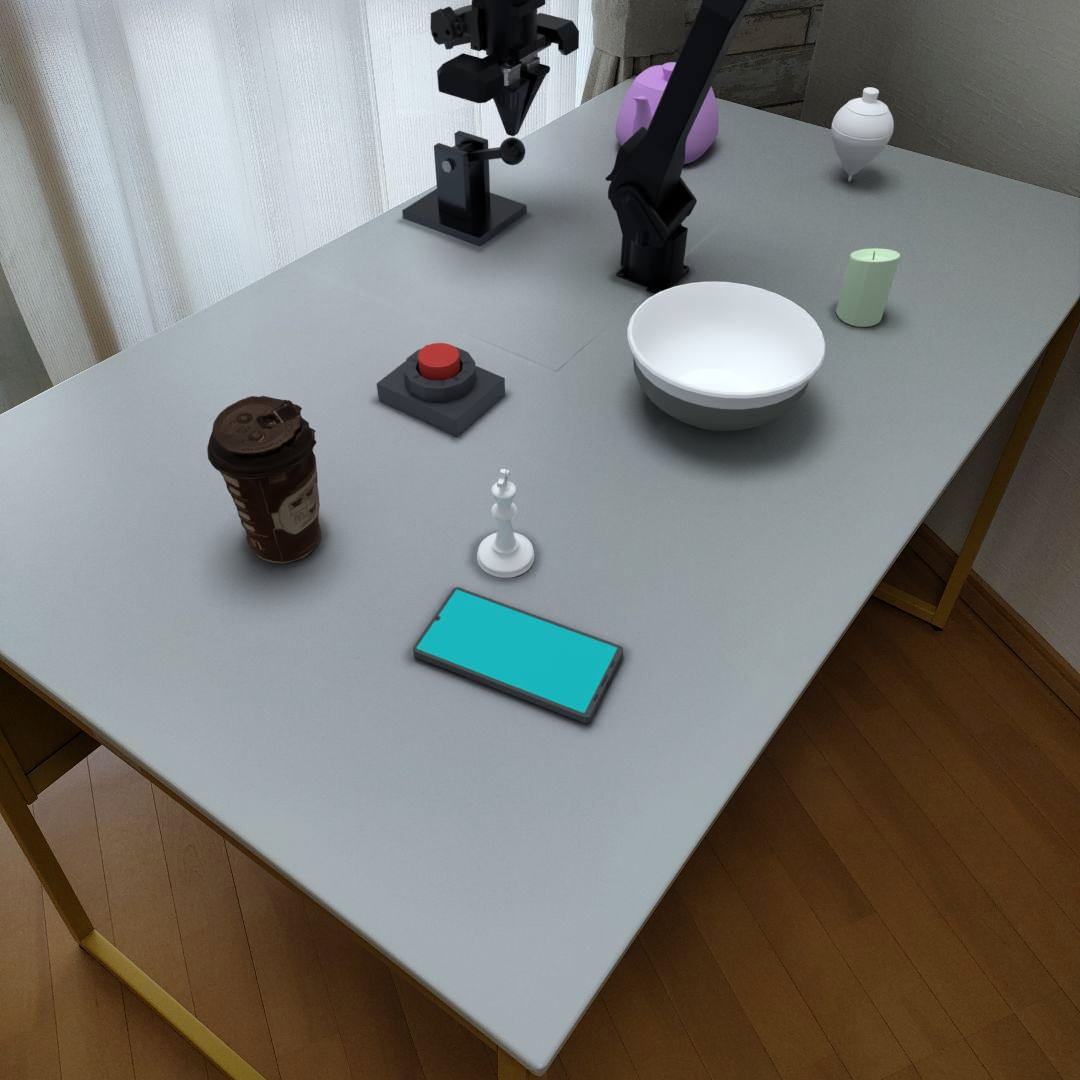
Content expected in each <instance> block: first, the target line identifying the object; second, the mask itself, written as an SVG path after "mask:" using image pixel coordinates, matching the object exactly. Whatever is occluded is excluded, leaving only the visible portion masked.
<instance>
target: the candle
mask: <svg viewBox="0 0 1080 1080" xmlns="http://www.w3.org/2000/svg"><path fill="white" fill-rule="evenodd" d="M900 258H901V254H900V253H899V252H898V251H896V250H894V249H893V250H892V249H887V248H877V247H876V248H875V247H874V248H863V249H857V250H855V251H853V252H851V253H850V255H849V259H848V263H847V265H846V266H847V267H846V269H845V273H844V278H843V282H842V286H841V290H840V294H839V297H838V302H837V305H836V309H835V313H836V315H837V317H838V318H839V320H840V321H842V322H843V323H846V324H847V325H850V326H853V327H858V328H868V327H873V326H876V325H877V324H879V323H881V320H882V318H883V315H884V312H885V308H886V305H887V302H888V299H889V295H890V291H891V289H892V286H893V281H894V278H895V275H896V272H897V269H898V265H899V261H900Z"/></svg>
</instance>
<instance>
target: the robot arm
mask: <svg viewBox="0 0 1080 1080" xmlns="http://www.w3.org/2000/svg"><path fill="white" fill-rule="evenodd" d="M755 2H756V0H700V4H699V8H698V10H697V13H696V15H695V17H694V20H693V22H692V24H691V27H690V29H689V32H688V34H687V36H686V39H685V41H684V43H683V46H682V48H681V50H680V53H679V55H678V57H677V58H676V62H675V63H676V64H675V66H674V69H673V71H672V73H671V76H670V78H669V80H668V83H667V85H666V87H665V90H664V92H663V94H662V97H661V99H660V101H659V104H658V106H657V108H656V111H655V113H654V115H653V118H652V120H651V122H650V125H649V127H648V129H647V130H646V129H645V128H644V127H643V126H642V127H641V128H640V129H639V130H638V131H637V132H636V133H634V134H633V135H632V136H631V137H630V138H629V139H628V140H627V141H626V142H625V143H624V144H623V145H622V146H621V145H620V146H619V148H618V151H617V154H616V157H615V160H614V166H613V168H612V170H611V172H610V173H609V174H608V175H607V176H606V177H605V181H607V182H610V183H609V184H608V190H607V199H608V200H609V202H610V204H611V207H612V208H613V209H614V211H615V213H616V216H617V220H618V224H619V227H620V231H621V248H620V250H621V251H620V262H619V263H620V266H621V268H620V269H619V270H618V271H617V272H616V273H615V276H616V277H617V278H619V279H622V280H624V281H628V282H631V283H633V284H636V285H638V286H642V287H644V288H646V290H648V291H650V292H652V293H655V294H657V293H659V292H661V291H664V290H666V289H669V288H672V287H675V286H676V284H677V283H678V282H679V281H681V280H682V279H683V278H684V277H685V276H686V275H687V274H688V273H689V272H690V267H689V265H686V264H685V255H686V247H687V239H688V231H689V228H688V227H687V226H684V225H683V224H682V223H683V222H684V221H685V220H686V219H687V218H688V217H689V216H690V215H691V214H692V212H693V211H694V208H695V207H696V205H697V202H698V200H697V198H696V196H695V195H694V194H693V192H692V191H691V189H690V187H688V185H687V184H686V182H685V181H684V179H683V178H682V177H681V176H682V173H683V169H684V165H685V164H684V162H685V148H686V140H687V137H688V134H689V132H690V130H691V128H692V126H693V124H694V122H695V120H696V117H697V115H698V113H699V111H700V109H701V107H702V105H703V102H704V100H705V98H706V96H707V94H708V92H709V90H710V88H711V86H713V83H714V81H715V79H716V77H717V74H718V73H719V70H720V69H721V66H722V64H723V62H724V60H725V57H726V55H727V53H728V51H729V49H730V47H731V46H732V43H733V41H734V38H735V36H736V35H737V32H738V30H739V27H740V26H741V23H742V21H743V19H744V18H745V16H746V14H747V13H748V11H749V10H750V9H751V7H752V6H753V5H754V3H755ZM543 6H546V0H471V4H468V5H465V6H461V7H459V8H455V9H453V8H452V6H447V7H445V8H438V9H436V10H435V11H432V12H430V32H431V34H430V35H431V37H432V38H433V41H434V43H436V44H437V45H438V46H439V45H444V48H445V50H447V51H448V50H452V49H453V48H454V47H457V46H461V45H467V44H470V45H469V46H470V50H473V51H476V52H481V51H484V52H485V55H486V56H484V57H478V56H475V55H471V54H468V53H464V52H463V53H460V54H459V55H457V56H455V57H453V58H450V59H449V60H447V61H445V62H443V63H442V64H441V65H440V67H438V69H437V70H436V76H437V90H438V93H442V94H445V95H448V96H452V97H456V98H458V99H462V100H466V101H469V102H472V103H475V104H485V103H487V102H489V101H491V100H493V103H494V105H495V107H496V110H497V113H498V116H499V118H500V121H501V123H502V126H503V129H504V131H505V133H506V135H507V136H510V137H516V136H517V135H518V134H519V133H520V131H521V128H522V126H523V124H524V121H525V120H526V118H527V116H528V115H527V114H528V113H529V110H530V108H531V106H532V104H533V102H534V100H535V98H536V96H537V94H538V92H539V90H540V88H541V85H542V83H543V82H544V80H545V78H546V76H547V75H548V74H549V73H550V71H551V66H549V65H548V64H543V63H541V58H540V57H539V55H538V53H539V52H541V51H544V50H545V49H547V48H549V47H551V46H552V44H556V45H557V50H558V51H559V53H560V54H561V55H562V56H568V55H570V54H572V53H574V52H575V51H577V50H578V49H579V48H580V30H579V28H578V27H577V26H576V24H575V23H574V21H573V20H572V19H567V18H563V17H559V16H555V15H551V14H547V13H543V12H538V9H540V8H541V7H543Z"/></svg>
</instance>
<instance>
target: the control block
mask: <svg viewBox="0 0 1080 1080" xmlns="http://www.w3.org/2000/svg"><path fill="white" fill-rule="evenodd" d="M427 345H428V344H425V345H424V346H423V347H425V346H427ZM453 346H454V345H453ZM454 347H455V348H456V349H457V350H458V352H459V359H460V371H459V373H458V374H457V375H456V376H455V377H453V378H449V379H446V380H429V379H427V378H424V377H423V376H422V375H421V374H420V371H419V362H418V353H419V351H420V350H421V349H422V348H419V349H417V350H416V351H414V352H413V353H412V354H410V355H409V356H408V357H406V359H405V361H403V363H401V364H400V365H398V366H397V367H396V368H395V369H393V370H392V371H391V372H390V373H388V374H387V375H386V376H384V377H383V378H382V379H380V380H379V381H378V382H376V390H377V397H378V402H381V403H383V404H385V405H386V406H390V407H391V408H393V409H395V410H397V411H400V412H402V413H404V414H407V415H408V416H410V417H412V418H415V419H417V420H419V421H421V422H423V423H425V424H427V425H430V426H432V427H434V428H436V429H439V430H441V431H443V432H445V433H447V434H449V435H451V436H453V437H456V438H458V437H459V436H461V435H462V434H463V433H465V431H466V430H468V428H470V427H471V426H472V425H474V423H475V422H476V421H478V420H479V419H480V418H481V417H482V416H483V415H484V414H486V413H487V412H488V411H489V410H491V408H492V407H494V406H495V405H496V404H497V403H499V401H501V400H502V399H503V398H504V397H505V396H506V378H505V377H503V376H501V375H499V374H496V373H494V372H492V371H489V370H487V369H484V368H483V367H480V366H478V365H476V361H475V360H474V358H473V357H472V355H471V354H470V353H469V352H468V351H467V350H464V349H462V348H459V347H457V346H454Z"/></svg>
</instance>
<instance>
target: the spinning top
mask: <svg viewBox="0 0 1080 1080" xmlns="http://www.w3.org/2000/svg"><path fill="white" fill-rule="evenodd" d="M879 93H880V90H879V89H877V88H875V87H872V86H871V87H869V86H867V87H865V88H863V90H862V96H861V97H855V98H852V99H850V100H848V101H847V103H845V104H844V105H843V106H841V107H840V109H838V111H837V112H836V113H835V115H834V117H833V119H832V122H831V128H830V132H831V133H830V134H831V139H832V143H833V146H834V150H835V152H836V154H837V156H838V159H839V161H840V163H841V165H842V167H843V169H844V170H845V172H846V173H847V174H848V179H847V181H848V182H852V178H853V176H854V175H856V174H857V173H859V172H860V171H861V170H863V169H864V168H865V167H866V166H867V165H868V164H870V163H871V162H872V161H873V160H874V159H875V158H877V156H878V155H880V153H881V152H882V151H883V150H884V148H885V147H886V146H887V145H888V144H889V142H890V141H891V139H892V136H893V134H894V128H895V123H894V117H893V115H892V113H891V110H890V108H889V107H888V105H887V104H886V103H885V102H883V101H881V100H879V99H878V97H879Z"/></svg>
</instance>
